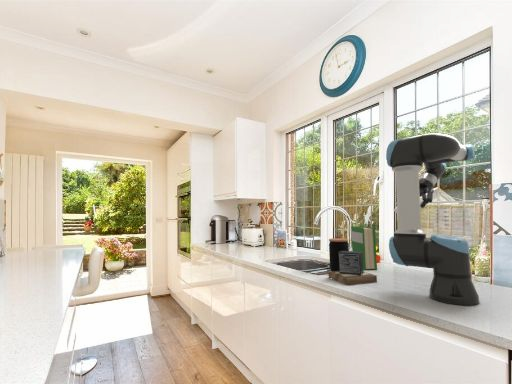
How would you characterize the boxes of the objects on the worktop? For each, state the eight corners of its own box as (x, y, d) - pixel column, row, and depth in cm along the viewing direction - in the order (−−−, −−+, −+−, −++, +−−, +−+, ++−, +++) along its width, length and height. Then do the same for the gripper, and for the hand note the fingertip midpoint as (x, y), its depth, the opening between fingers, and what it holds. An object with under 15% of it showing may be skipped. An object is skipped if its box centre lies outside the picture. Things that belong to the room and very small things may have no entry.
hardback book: (377, 270, 158) (375, 227, 160) (364, 270, 158) (362, 227, 160) (364, 264, 175) (362, 226, 177) (353, 264, 175) (351, 226, 177)
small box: (364, 273, 137) (363, 251, 137) (361, 275, 131) (360, 253, 132) (342, 270, 142) (341, 250, 143) (338, 273, 137) (337, 251, 138)
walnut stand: (376, 282, 131) (376, 275, 131) (347, 285, 126) (347, 278, 127) (355, 275, 146) (355, 268, 147) (328, 277, 142) (328, 271, 142)
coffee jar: (351, 273, 150) (349, 240, 151) (330, 273, 152) (329, 240, 154) (348, 269, 160) (347, 238, 162) (329, 269, 163) (328, 238, 164)
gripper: (452, 186, 139) (431, 216, 133) (411, 190, 163) (391, 216, 157) (443, 175, 138) (422, 206, 132) (403, 181, 161) (383, 207, 156)
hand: (405, 211), depth 145 cm, fingers open, 13 cm apart
